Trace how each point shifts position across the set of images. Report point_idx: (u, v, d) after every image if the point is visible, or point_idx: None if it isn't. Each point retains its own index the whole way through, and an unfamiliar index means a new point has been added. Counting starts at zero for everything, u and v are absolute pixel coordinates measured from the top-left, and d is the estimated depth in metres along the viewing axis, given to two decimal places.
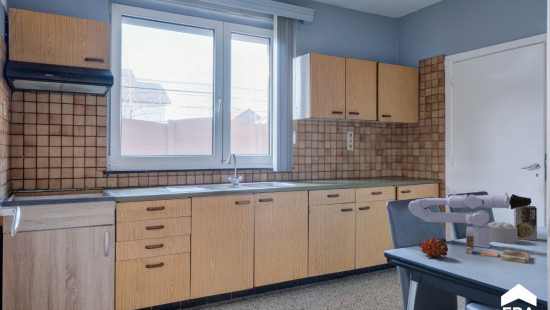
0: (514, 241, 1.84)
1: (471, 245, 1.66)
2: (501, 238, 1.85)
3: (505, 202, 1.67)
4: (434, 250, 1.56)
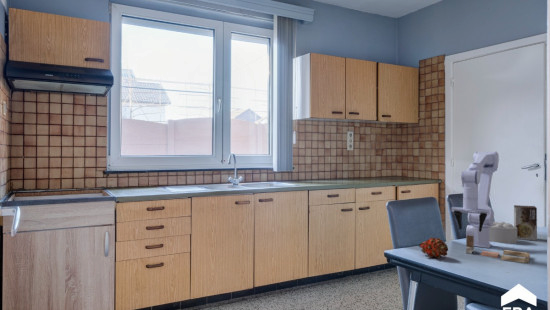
0: (514, 241, 1.84)
1: (471, 245, 1.66)
2: (501, 238, 1.85)
3: None
4: (434, 250, 1.56)
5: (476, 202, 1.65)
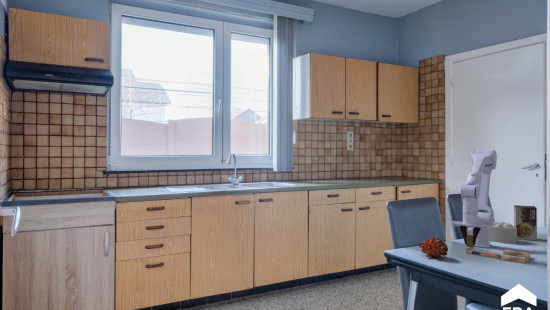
0: (514, 241, 1.84)
1: (471, 245, 1.66)
2: (501, 238, 1.85)
3: None
4: (434, 250, 1.56)
5: (476, 217, 1.65)
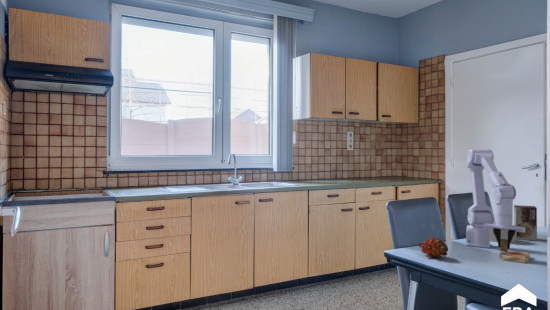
0: (513, 241, 1.85)
1: (505, 249, 1.59)
2: (501, 238, 1.85)
3: (484, 224, 1.64)
4: (434, 250, 1.56)
5: (511, 219, 1.57)
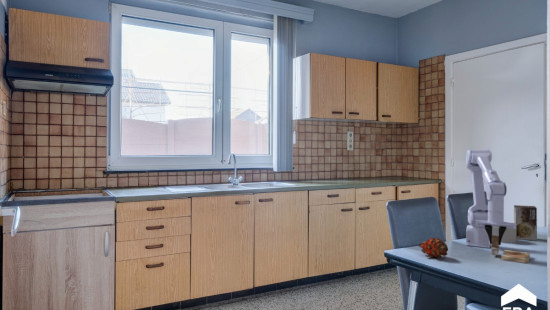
0: (513, 241, 1.85)
1: (497, 246, 1.60)
2: None
3: (475, 221, 1.66)
4: (434, 250, 1.56)
5: (502, 215, 1.59)
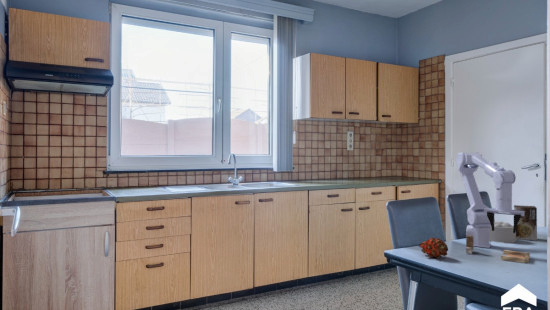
0: (513, 240, 1.86)
1: (471, 245, 1.66)
2: (500, 238, 1.86)
3: (484, 209, 1.68)
4: (434, 250, 1.56)
5: (510, 203, 1.62)
